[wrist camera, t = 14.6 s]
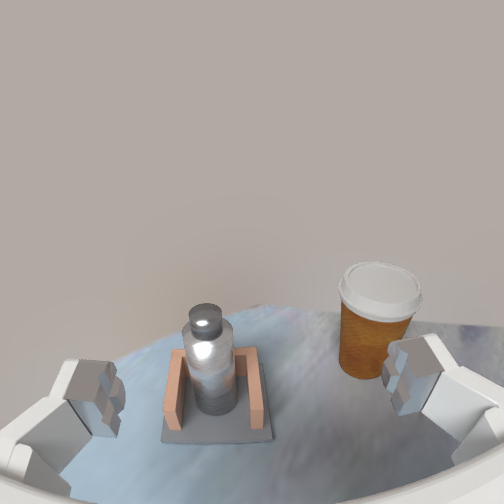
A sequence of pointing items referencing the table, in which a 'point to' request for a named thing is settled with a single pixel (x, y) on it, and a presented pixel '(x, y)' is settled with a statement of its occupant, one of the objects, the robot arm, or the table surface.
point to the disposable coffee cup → (374, 314)
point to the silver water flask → (211, 359)
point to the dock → (217, 427)
